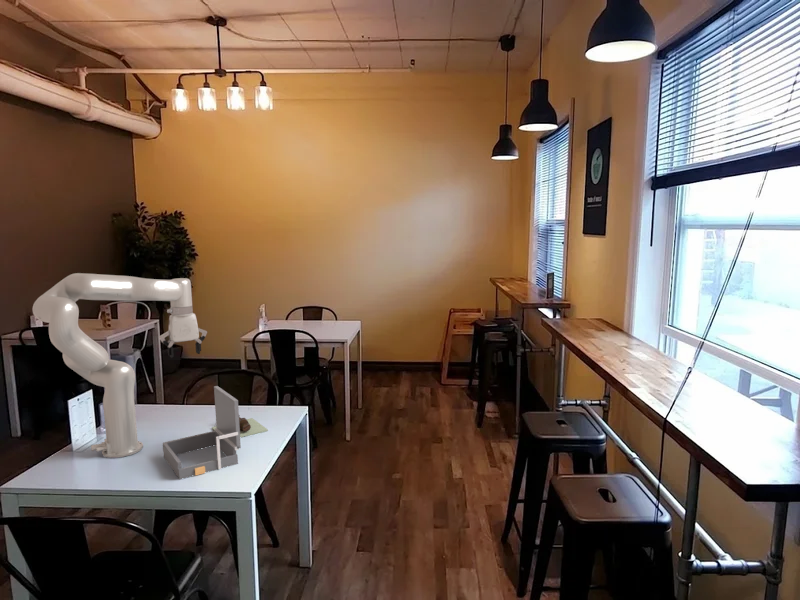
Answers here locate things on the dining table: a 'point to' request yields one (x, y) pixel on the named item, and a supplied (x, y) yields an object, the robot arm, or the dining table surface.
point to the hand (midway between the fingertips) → (185, 355)
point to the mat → (254, 428)
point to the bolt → (244, 424)
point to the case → (210, 439)
